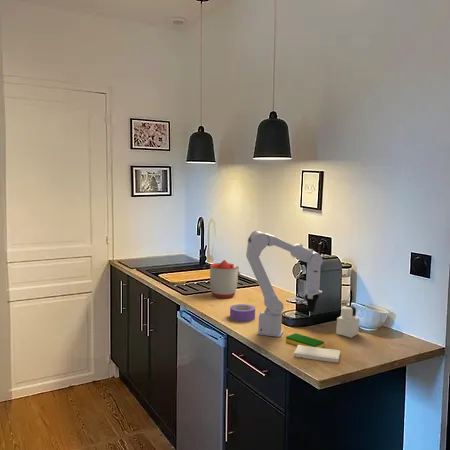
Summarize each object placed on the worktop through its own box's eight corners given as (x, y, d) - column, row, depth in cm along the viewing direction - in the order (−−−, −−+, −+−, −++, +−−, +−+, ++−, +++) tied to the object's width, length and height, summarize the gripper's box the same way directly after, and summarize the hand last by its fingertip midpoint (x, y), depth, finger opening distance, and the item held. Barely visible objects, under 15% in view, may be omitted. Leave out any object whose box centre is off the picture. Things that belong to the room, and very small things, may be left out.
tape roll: (238, 323, 216) (238, 312, 216) (225, 316, 226) (225, 305, 226) (259, 319, 222) (260, 309, 222) (246, 313, 232) (246, 303, 232)
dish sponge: (314, 351, 184) (315, 345, 184) (285, 342, 193) (285, 336, 193) (324, 347, 189) (324, 341, 189) (295, 338, 199) (295, 332, 198)
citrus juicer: (245, 298, 260) (246, 261, 258) (216, 300, 253) (217, 263, 251) (232, 291, 274) (233, 256, 272) (204, 293, 267) (205, 258, 265)
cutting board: (294, 356, 177) (294, 352, 177) (297, 348, 186) (298, 344, 186) (338, 362, 173) (338, 358, 172) (340, 354, 181) (340, 350, 181)
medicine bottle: (343, 330, 210) (344, 303, 209) (358, 333, 206) (360, 306, 204) (335, 334, 205) (337, 306, 203) (351, 337, 200) (353, 309, 199)
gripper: (320, 284, 194) (318, 317, 196) (324, 277, 208) (322, 308, 209) (303, 282, 196) (301, 315, 198) (308, 276, 210) (306, 306, 212)
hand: (311, 311), depth 204 cm, fingers closed
